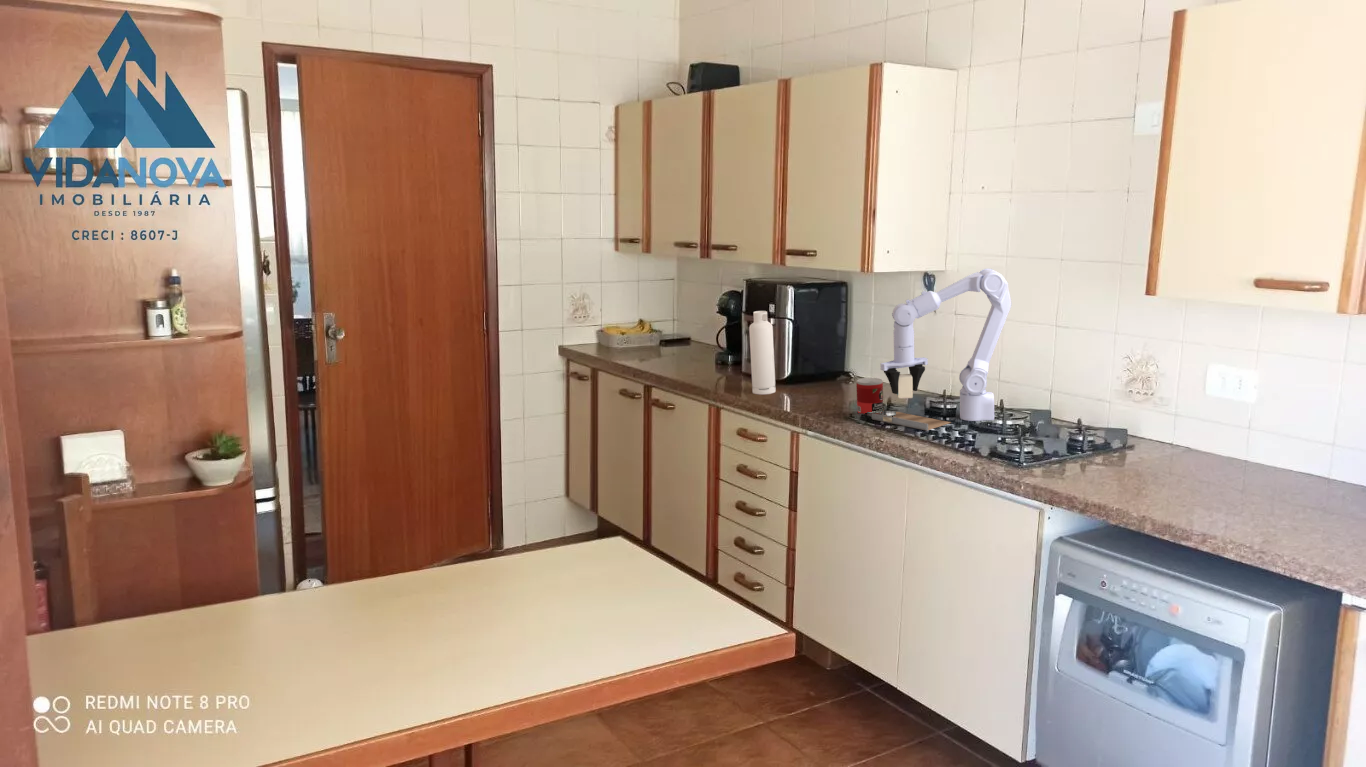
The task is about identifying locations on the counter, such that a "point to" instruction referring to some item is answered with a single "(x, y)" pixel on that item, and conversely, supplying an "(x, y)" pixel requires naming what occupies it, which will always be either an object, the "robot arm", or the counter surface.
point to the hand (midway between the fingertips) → (904, 391)
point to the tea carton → (905, 386)
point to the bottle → (762, 354)
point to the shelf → (910, 420)
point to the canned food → (869, 394)
